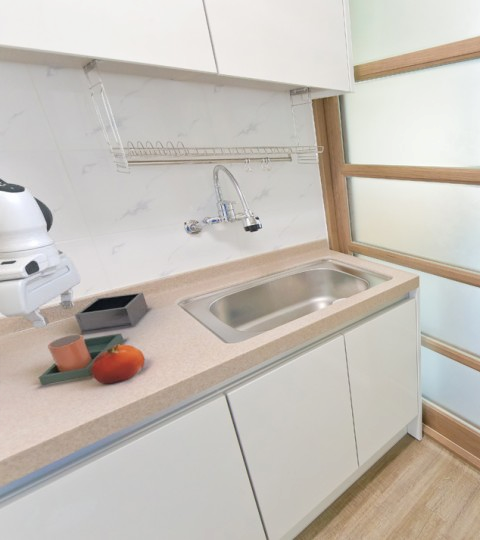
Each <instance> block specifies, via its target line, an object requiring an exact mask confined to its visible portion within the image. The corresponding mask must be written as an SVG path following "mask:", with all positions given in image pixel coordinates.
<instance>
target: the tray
mask: <svg viewBox="0 0 480 540" xmlns="http://www.w3.org/2000/svg"><path fill="white" fill-rule="evenodd" d="M84 341H85V343H86V345H87V348H88V350H89V353H90V355H91V358H92V361H91V362H90V363H89V364H88V365H87V366H86V368H82V369H76V370H70V371H65V372H59V370H58V368H57V366H56V364H55V363H53V364H52V365H51V366H50V367H48V369H47V370H45V371H44V372H43V373H42V374H41V375H39V376H38V380H39V382H40V384H41V386H44V385H51V384H55V383H61V382H66V381H71V380H79V379H82V378H83V379H84V378H88V377H91V376H93V374H92V372H91V366H92V365H93V362H94V360H95V359H96V358H97V357H98V356H99V355H101V354H102V353H103V352H105V351H106V350H108V349H109V348H111V347H113V346H115V345H117V344H120V345H121V343H122V342H123V341H124V337H123V334H122V333H114V334H107V335H102V336H95V337H87V338H84Z"/></svg>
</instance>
